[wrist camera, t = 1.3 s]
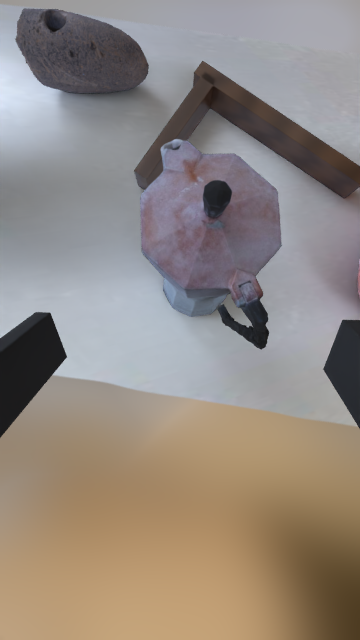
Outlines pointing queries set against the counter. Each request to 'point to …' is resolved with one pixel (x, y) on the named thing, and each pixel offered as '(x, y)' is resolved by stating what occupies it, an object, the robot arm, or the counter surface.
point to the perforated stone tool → (79, 52)
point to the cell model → (359, 285)
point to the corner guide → (250, 132)
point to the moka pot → (211, 234)
